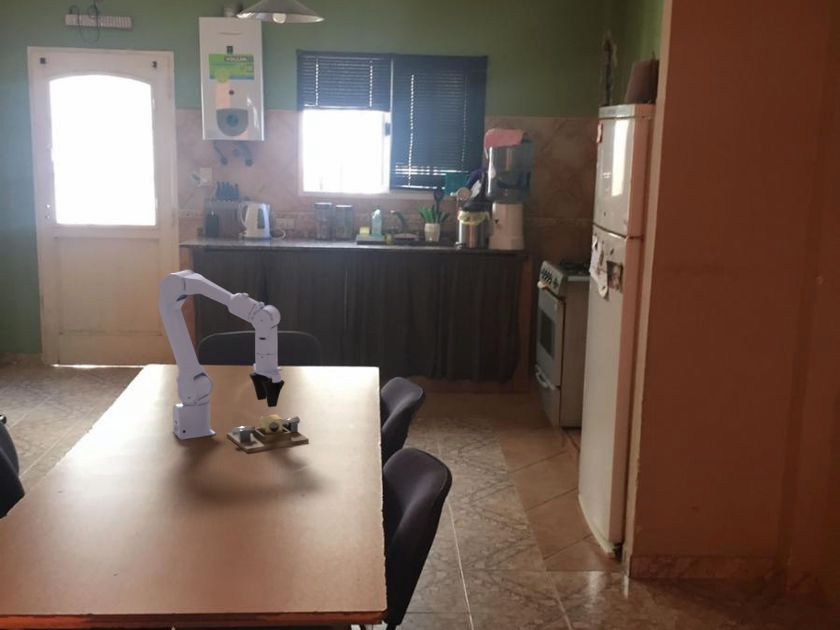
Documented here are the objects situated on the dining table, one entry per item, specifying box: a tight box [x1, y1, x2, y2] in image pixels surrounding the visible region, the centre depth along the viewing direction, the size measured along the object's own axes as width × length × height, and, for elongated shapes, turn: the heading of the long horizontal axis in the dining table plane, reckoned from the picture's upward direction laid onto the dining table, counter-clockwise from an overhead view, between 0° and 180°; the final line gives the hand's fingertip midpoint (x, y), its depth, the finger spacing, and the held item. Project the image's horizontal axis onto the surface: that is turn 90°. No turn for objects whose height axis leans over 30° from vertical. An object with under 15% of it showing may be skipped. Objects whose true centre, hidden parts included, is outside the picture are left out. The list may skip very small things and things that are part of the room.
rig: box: [226, 426, 309, 454], centre depth 230 cm, size 17×15×3 cm
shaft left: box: [231, 425, 256, 443], centre depth 226 cm, size 6×4×4 cm, turn 110°
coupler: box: [259, 413, 283, 436], centre depth 229 cm, size 5×4×6 cm
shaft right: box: [282, 416, 301, 434], centre depth 234 cm, size 5×4×4 cm
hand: (266, 402), depth 230 cm, fingers open, 7 cm apart
